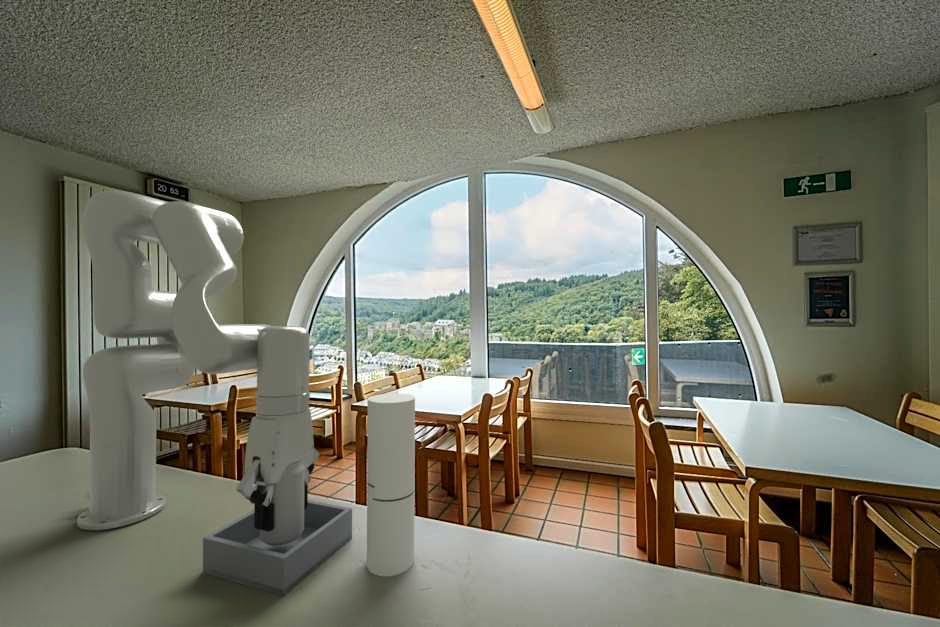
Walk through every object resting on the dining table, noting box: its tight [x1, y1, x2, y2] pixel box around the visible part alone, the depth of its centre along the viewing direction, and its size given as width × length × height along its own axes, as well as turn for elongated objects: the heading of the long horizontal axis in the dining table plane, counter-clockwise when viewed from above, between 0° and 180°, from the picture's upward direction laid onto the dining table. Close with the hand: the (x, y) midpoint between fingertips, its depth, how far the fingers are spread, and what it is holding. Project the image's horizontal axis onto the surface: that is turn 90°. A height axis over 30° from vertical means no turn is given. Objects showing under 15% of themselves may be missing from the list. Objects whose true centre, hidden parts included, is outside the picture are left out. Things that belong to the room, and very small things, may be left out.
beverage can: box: [260, 460, 305, 546], centre depth 64 cm, size 6×6×12 cm
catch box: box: [202, 499, 353, 597], centre depth 63 cm, size 15×15×5 cm
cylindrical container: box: [366, 393, 416, 578], centre depth 62 cm, size 7×7×25 cm
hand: (282, 517), depth 64 cm, fingers closed on beverage can, 6 cm apart
